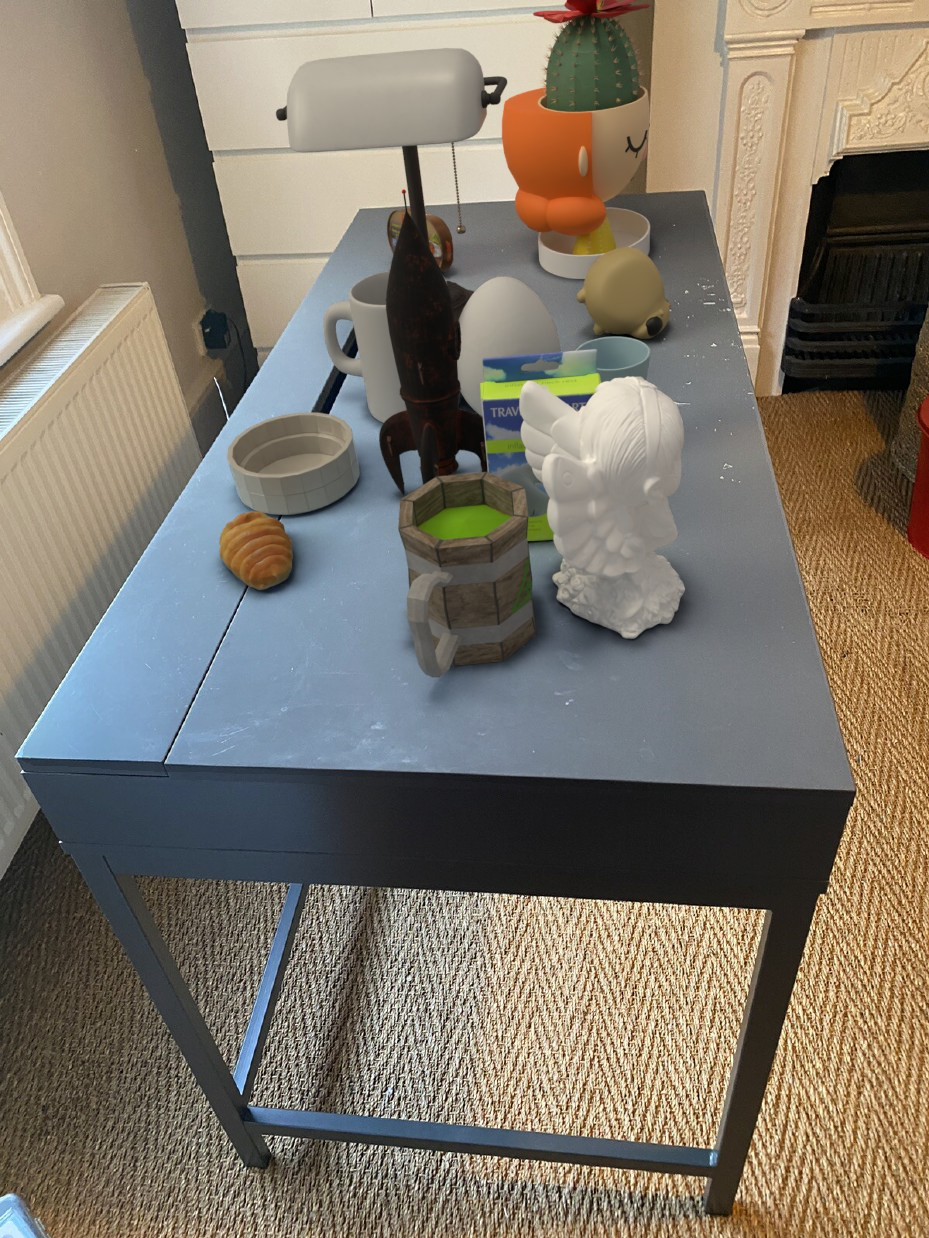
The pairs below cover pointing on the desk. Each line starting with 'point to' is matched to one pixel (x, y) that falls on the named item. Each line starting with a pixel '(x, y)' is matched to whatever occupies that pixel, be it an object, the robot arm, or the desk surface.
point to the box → (505, 420)
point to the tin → (436, 233)
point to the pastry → (257, 549)
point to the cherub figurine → (609, 498)
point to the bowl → (294, 463)
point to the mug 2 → (467, 570)
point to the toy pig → (625, 294)
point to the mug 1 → (368, 344)
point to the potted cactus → (580, 140)
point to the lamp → (392, 112)
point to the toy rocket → (425, 365)
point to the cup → (619, 357)
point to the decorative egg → (502, 332)
